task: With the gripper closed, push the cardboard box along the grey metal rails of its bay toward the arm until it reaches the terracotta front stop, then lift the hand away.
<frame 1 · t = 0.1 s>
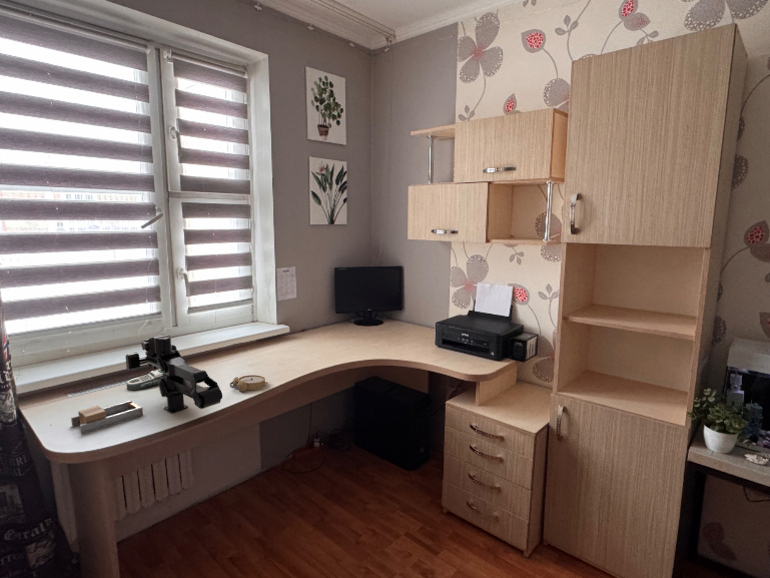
hand: (143, 353, 185), 17 cm above the table, tool horizontal, fingers open, 9 cm apart
bay: (109, 420, 162), on the table
communication device: (156, 383, 199), on the table
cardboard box: (92, 417, 158), point 3 cm above the table, slide at 0.0 cm
alarm clock: (247, 388, 194), on the table
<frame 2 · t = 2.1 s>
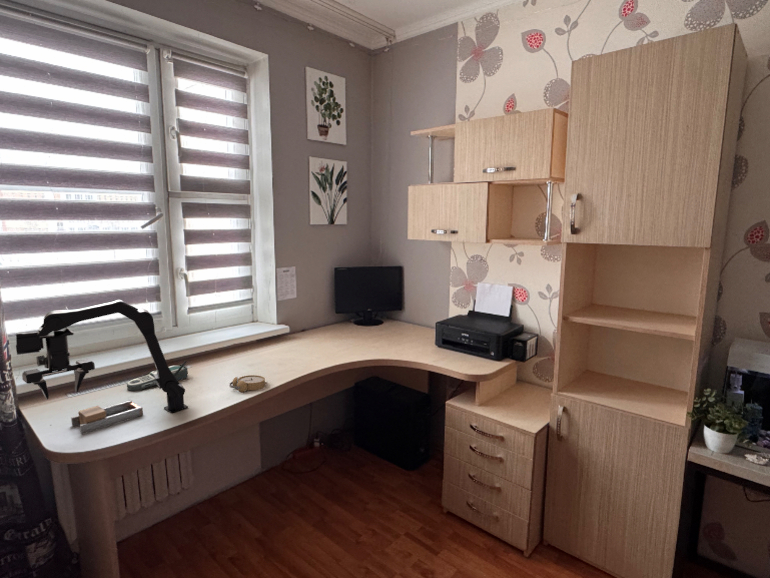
hand: (62, 395, 150), 13 cm above the table, tool pointing down, fingers open, 8 cm apart
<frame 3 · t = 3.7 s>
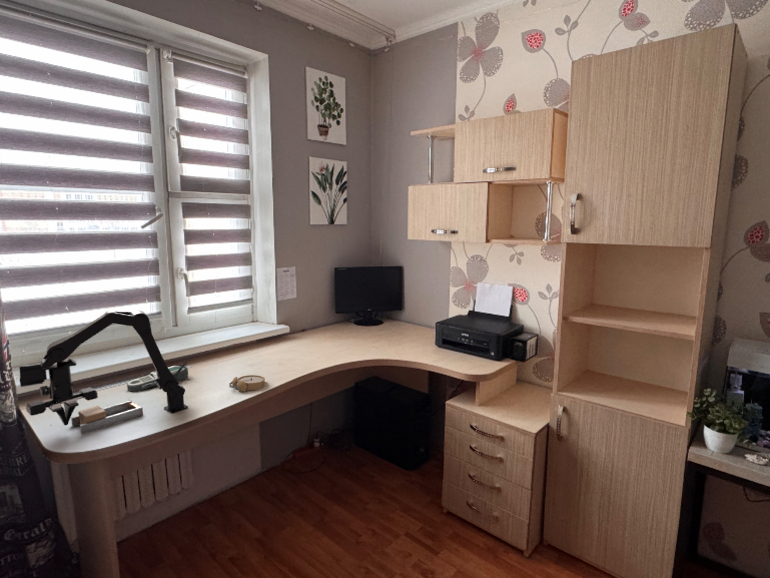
hand: (65, 424, 152), 3 cm above the table, tool pointing down, fingers closed
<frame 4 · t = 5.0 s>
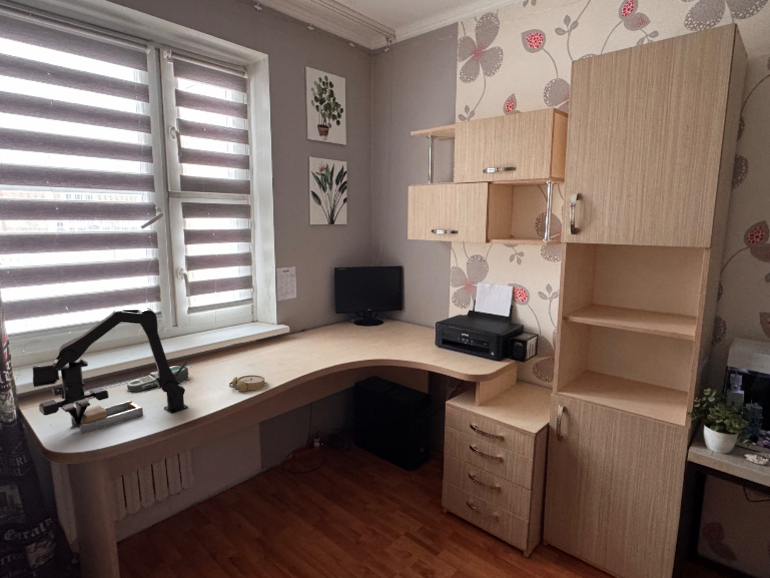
hand: (77, 424, 154), 2 cm above the table, tool pointing down, fingers closed
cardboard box: (93, 417, 158), point 3 cm above the table, slide at 0.4 cm, touching gripper
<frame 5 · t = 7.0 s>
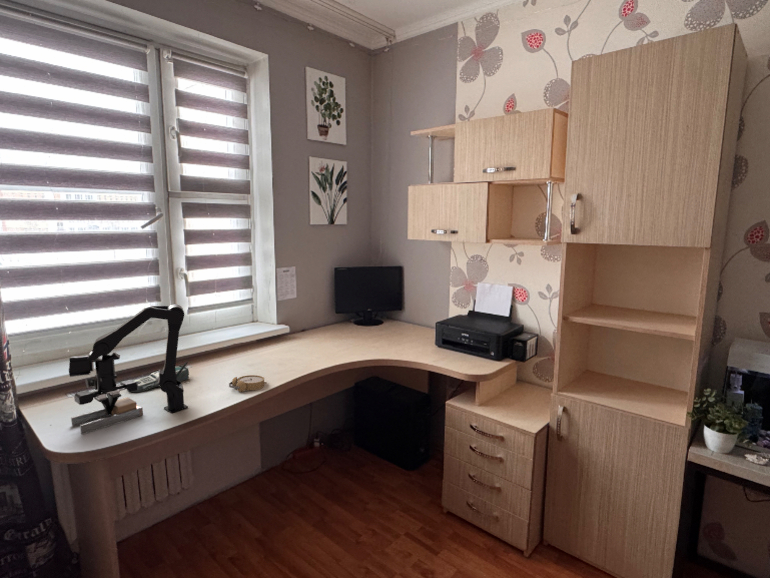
hand: (109, 414, 162), 2 cm above the table, tool pointing down, fingers closed
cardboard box: (123, 408, 166), point 3 cm above the table, slide at 10.1 cm, touching gripper
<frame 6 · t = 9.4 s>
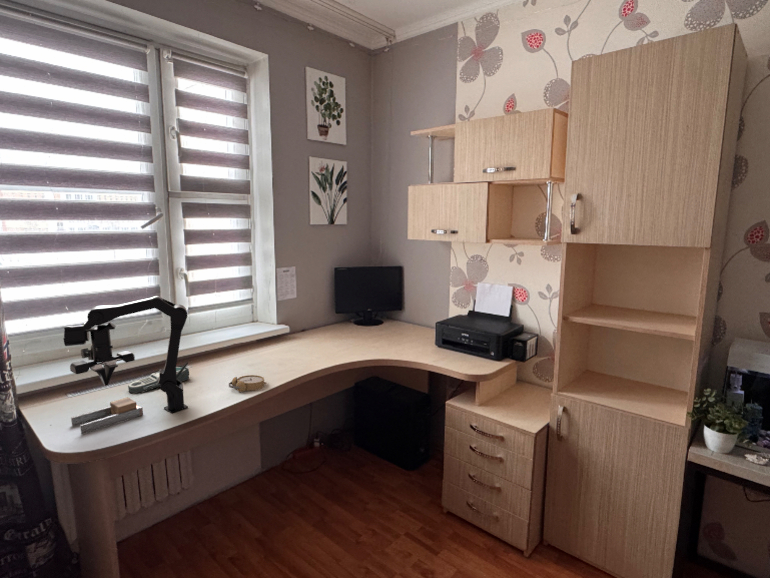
hand: (106, 385, 161), 13 cm above the table, tool pointing down, fingers closed
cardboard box: (123, 408, 166), point 3 cm above the table, slide at 10.0 cm
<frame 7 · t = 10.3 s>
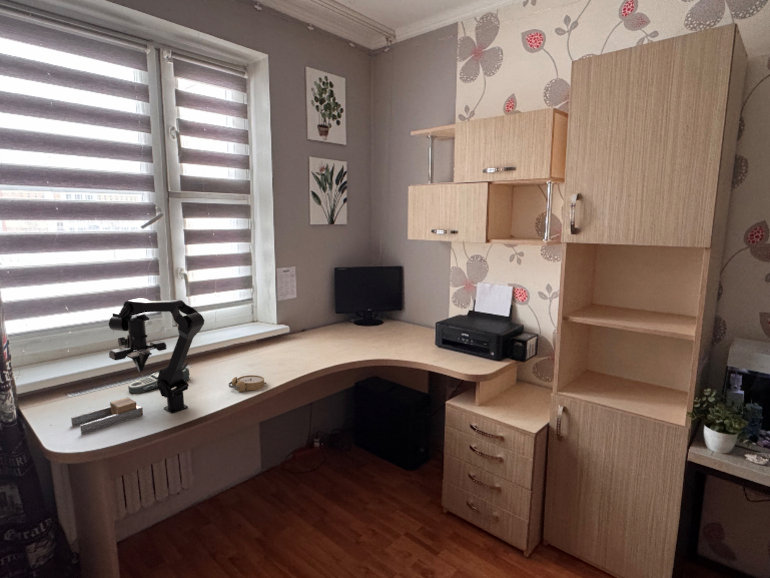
hand: (140, 371, 174), 13 cm above the table, tool pointing down, fingers closed
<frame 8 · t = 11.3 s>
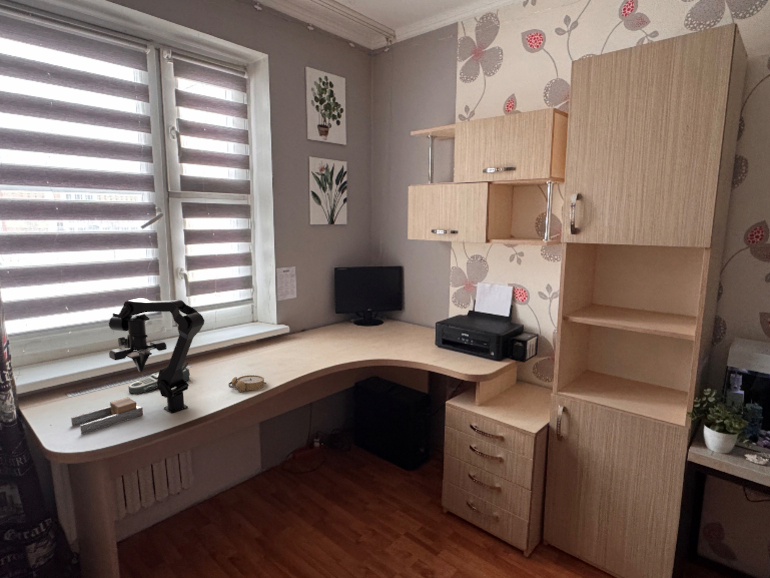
hand: (140, 371, 174), 13 cm above the table, tool pointing down, fingers closed
at the end: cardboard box slide at 10.0 cm; the gripper is holding nothing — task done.
